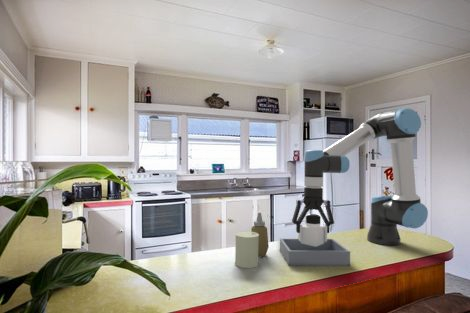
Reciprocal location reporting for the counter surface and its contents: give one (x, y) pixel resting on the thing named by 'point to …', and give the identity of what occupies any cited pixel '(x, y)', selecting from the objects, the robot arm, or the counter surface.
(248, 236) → the can
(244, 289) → the counter surface
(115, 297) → the counter surface
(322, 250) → the grey box
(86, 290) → the counter surface
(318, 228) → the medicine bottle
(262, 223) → the squeeze bottle
